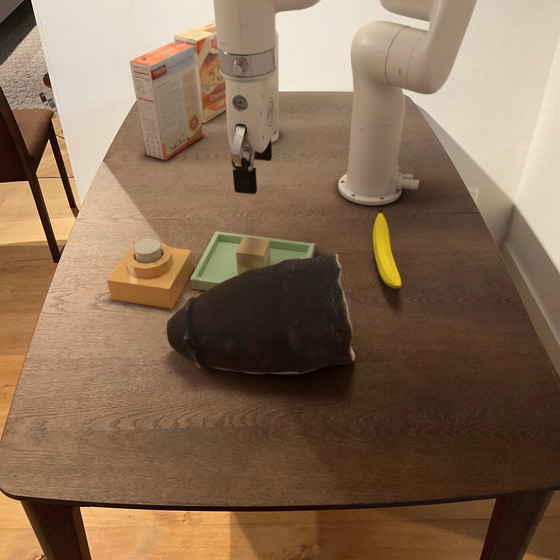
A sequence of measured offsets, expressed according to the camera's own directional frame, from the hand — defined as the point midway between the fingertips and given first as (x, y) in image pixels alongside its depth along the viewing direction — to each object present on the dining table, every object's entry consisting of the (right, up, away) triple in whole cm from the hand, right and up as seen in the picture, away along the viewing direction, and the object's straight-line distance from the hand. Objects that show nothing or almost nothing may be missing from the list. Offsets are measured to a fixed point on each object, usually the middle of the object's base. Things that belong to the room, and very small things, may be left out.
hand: (254, 175), depth 86 cm
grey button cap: (-16, -12, +3) cm, 21 cm away
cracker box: (-20, +14, +45) cm, 51 cm away
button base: (-16, -16, +7) cm, 24 cm away
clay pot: (+1, -26, -5) cm, 26 cm away
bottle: (0, +18, +48) cm, 52 cm away
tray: (0, -14, +9) cm, 17 cm away
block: (0, -14, +9) cm, 16 cm away
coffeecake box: (-14, +27, +60) cm, 68 cm away
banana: (+21, -15, +9) cm, 27 cm away
